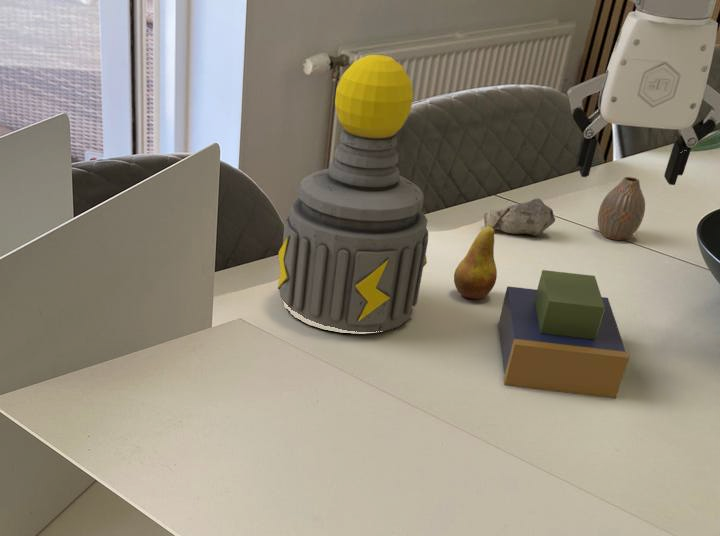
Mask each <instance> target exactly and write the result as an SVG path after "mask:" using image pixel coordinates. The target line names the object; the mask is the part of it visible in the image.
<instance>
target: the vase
mask: <svg viewBox="0 0 720 536" xmlns="http://www.w3.org/2000/svg"><path fill="white" fill-rule="evenodd" d="M645 212H646V200H645V196H644V194H643V190H642V188H641V184H640V179H638V178H637V177H633V176H625V177H623V178H622V180H621V181H620V182H619V183H618V184H617V185H616V186H614V188H612V190H610V191H609V192H608V193H607V194H606V195H605V197H604V198H603V200H602V202H601V204H600V205H599V209H598V213H597V226H598V229H599V232H600V233H601V235H602V236H603V237H605V238H607V239H610V240H614V241H624V240H627V239H629V238H631V237H632V236H633V235H634V234H635V233H636V232H637V231H638V230H639V228H640V226H641V225H642V222H643V219H644V217H645Z"/></svg>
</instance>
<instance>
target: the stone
mask: <svg viewBox="0 0 720 536" xmlns="http://www.w3.org/2000/svg"><path fill="white" fill-rule="evenodd" d="M507 208H509V209H510V210H509V211H508V212H507V213H506V214H505V215H504V216H503V217H502V218H501V219H500V221H499V222H498V223H497V224H496V225H495V226H494V228H493V229H494V230H495V229H498V230H500V231H502V232H503V233H507V234H510V235H511V234H512V235H514V234H515V235H520V234H521V235H522V234H523V235H525V234H526V235H530V236H533V237H537V236H540V235H541V234H542V233H543V232H545V231H546V230H547V229H548V228H549V227H551V226H552V225H554V223H555V222H556V217H555V215H554V211H553V209H552V208H551V207H550V206H548V205H546V204H545V203H544V201H542V199H540V198H539V197H538V198H533V199H532V200H529V201H525V202H522V203H517V204H514V205H509V206H506V207H504V208H501V209H499V210H492V209H488V210H486V211H485V212H484V214H483V224H484V228H486V227H487V226H490V227H491V226H492V225H493V224H494V223H495V222H496V221H498V219H499V218H500V216H501V215H502V214H503V213H504V212H505V211H506V209H507Z"/></svg>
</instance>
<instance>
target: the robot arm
mask: <svg viewBox="0 0 720 536" xmlns="http://www.w3.org/2000/svg"><path fill="white" fill-rule="evenodd" d="M629 1H630V2H631V3H634V6H635V11H630V12H629V13H628V14H627V16H626V17H625V20H624V23H623V24H622V27H621V29H620V32H619V34H618V37H617V38H616V42H615V45H614V48H613V51H612V53H611V56H610V59H609V62H608V65H607V68H606V70H605V72H604V73H602V74H599V75H597V76H595V77H593V78H590V79H588V80H586V81H583V82H581V83H579V84H576V85H574V86H572V87H569V88H568V89H567V92H566V95H567V98H568V99H567V100H568V104H569V109H570V113H571V116H572V118H573V120H574V122H575V124H576V125H577V127H578V129H579V130H580V131H581V133H582V134H581V135H582V136H581V139H580V144H579V146H578V147H579V148H578V151H577V155H576V159H575V166H576V167H579V168H578V170H579V173H580V176H581V178H587V177H589V176H590V172H591V169H592V164H593V161H594V157H595V153H596V149H597V145H598V138H597V134H598V133H599V132H600V131H602V129H603V128H604V127H606V126H607V125H608V124H609V123H610V124H613V125H619V126H629V127H640V128H652V129H665V130H678V133H679V138H678V139H676V141H674V143H673V146H672V149H671V152H670V155H669V159H668V162H667V166H666V168H665V171H664V175H663V176H664V179H665V181H666V182H667V184H668V185H670V186H675V185H676V184H677V180H678V177H679V176H683V174H684V173H685V169H686V166H687V163H688V160H689V157H690V154H691V151H692V148H694V147H696V146H697V144H698V143H699V142H700V141H701V140H703V139H704V138H705V137H707V136H708V135H710V134H711V133H712V132H714V130H715V129H716V128H717V126H718V124H719V123H720V93H719V92H718V91H716V90H715V89H714V88H713V87H711V86H710V85H708V84H707V82H708V78H709V74H710V70H711V66H712V61H713V56H714V51H715V47H716V41H717V34H718V25H719V23H718V22H717V21H716V20H714V19H712V16H713V14H714V10H715V7H716V3H717V0H629ZM598 92H599V95H598V100H597V109H596V110H595V111H594V112H593V113H592V114H590V115H589V116H588V115H587V113H586V112H585V110H584V105H583V100H584V99H586V98H587V97H589V96H591V95H593V94H595V93H598ZM703 101H704V102H705V103H706V104H707V105H709V106H710V107H711V109H710V111H709V112H708V114H707V115H706V116H705V117H703V118H702V119H701V120H699V121H698V122H696V120H697V119H698V115H699V112H700V108H701V106H702V102H703ZM695 122H696V124H694V123H695ZM693 124H694V125H693ZM684 150H687V151H684ZM682 151H683V152H682ZM680 152H682V153H680Z"/></svg>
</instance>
